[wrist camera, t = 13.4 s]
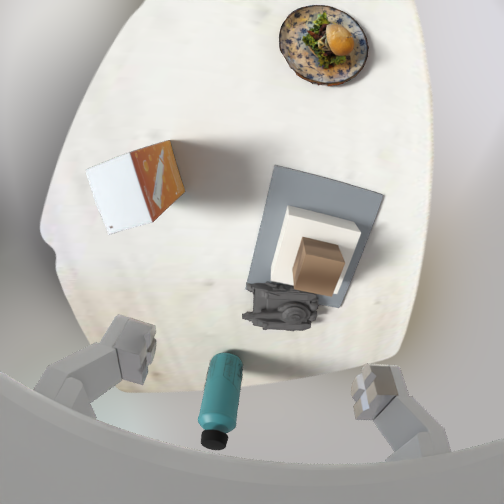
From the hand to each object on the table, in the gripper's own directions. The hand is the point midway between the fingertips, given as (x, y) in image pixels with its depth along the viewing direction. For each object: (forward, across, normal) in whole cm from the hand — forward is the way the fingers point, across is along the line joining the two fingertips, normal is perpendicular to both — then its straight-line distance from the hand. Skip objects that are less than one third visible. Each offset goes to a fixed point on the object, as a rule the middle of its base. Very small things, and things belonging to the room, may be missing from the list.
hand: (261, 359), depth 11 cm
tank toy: (+33, -6, +22) cm, 40 cm away
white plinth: (+32, -8, +10) cm, 35 cm away
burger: (+34, -3, -18) cm, 39 cm away
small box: (+33, +16, +4) cm, 37 cm away
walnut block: (+28, -8, +10) cm, 31 cm away
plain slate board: (+32, -8, +10) cm, 35 cm away
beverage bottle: (+32, 0, +37) cm, 49 cm away
